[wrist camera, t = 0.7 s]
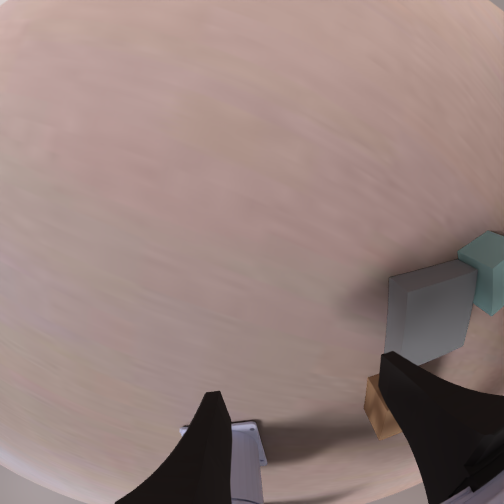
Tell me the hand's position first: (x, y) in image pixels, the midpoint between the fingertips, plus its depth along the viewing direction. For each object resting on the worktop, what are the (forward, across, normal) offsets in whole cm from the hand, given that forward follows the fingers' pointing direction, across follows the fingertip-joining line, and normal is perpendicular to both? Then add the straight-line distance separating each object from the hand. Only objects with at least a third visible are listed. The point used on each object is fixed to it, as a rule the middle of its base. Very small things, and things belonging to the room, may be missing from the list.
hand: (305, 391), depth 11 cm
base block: (+10, -13, +5) cm, 17 cm away
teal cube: (+10, -20, +2) cm, 23 cm away
